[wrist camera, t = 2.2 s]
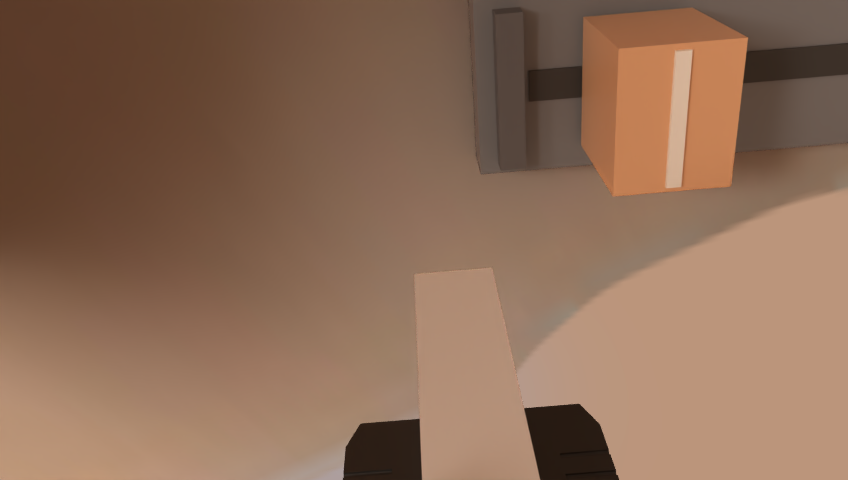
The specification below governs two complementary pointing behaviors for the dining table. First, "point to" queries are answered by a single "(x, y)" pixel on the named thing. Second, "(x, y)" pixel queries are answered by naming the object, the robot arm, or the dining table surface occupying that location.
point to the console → (568, 3)
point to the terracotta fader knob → (661, 100)
